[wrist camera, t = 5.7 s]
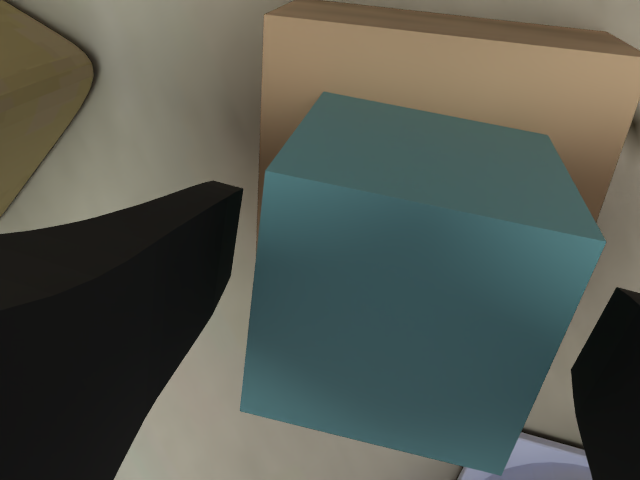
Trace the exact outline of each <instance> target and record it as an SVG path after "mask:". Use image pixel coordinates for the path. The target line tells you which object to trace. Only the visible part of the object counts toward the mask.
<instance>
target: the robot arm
mask: <svg viewBox="0 0 640 480" xmlns="http://www.w3.org/2000/svg"><path fill="white" fill-rule="evenodd" d="M242 194H243V188H239V187H235V186H231V185H228V184H224V183H220V182H216V181H209V182H205V183H202V184H198V185H195V186H192V187H189V188H186V189H183V190H181V191H178V192H175V193H172V194H169V195H166V196H163V197H160V198H157V199H155V200H152V201H149V202H146V203H143V204H140V205H136V206H133V207H130V208H126V209H123V210H119V211H116V212H112V213H109V214H105V215H102V216H99V217H95V218H91V219H87V220H83V221H78V222H74V223H69V224H64V225H59V226H54V227H48V228H43V229H37V230H31V231H23V232H15V233H6V234H0V480H114V478H115V476H116V474H117V472H118V470H119V468H120V466H121V464H122V462H123V460H124V458H125V456H126V454H127V452H128V450H129V448H130V446H131V444H132V442H133V440H134V439H135V437H136V435H137V433H138V431H139V429H140V427H141V425H142V423H143V421H144V419H145V417H146V416H147V414H148V413H149V411H150V409H151V408H152V406H153V404H154V403H155V401H156V399H157V398H158V396H159V395H160V393H161V392H162V390H163V389H164V387H165V386H166V384H167V383H168V381H169V380H170V378H171V377H172V375H173V374H174V372H175V371H176V369H177V368H178V366H179V365H180V363H181V362H182V360H183V359H184V357H185V356H186V354H187V353H188V351H189V350H190V348H191V347H192V345H193V344H194V342H195V341H196V339H197V338H198V336H199V335H200V333H201V332H202V330H203V329H204V327H205V325H206V324H207V322H208V321H209V319H210V318H211V316H212V315H213V312H214V310H215V308H216V306H217V304H218V302H219V300H220V298H221V296H222V294H223V292H224V289H225V287H226V285H227V283H228V281H229V279H230V276H231V270H232V263H233V256H234V249H235V242H236V235H237V228H238V222H239V215H240V208H241V201H242ZM571 375H572V387H573V398H574V406H575V414H576V419H577V423H578V427H579V431H580V435H581V439H582V443H583V446H584V450H583V449H579V448H576V447H572V446H568V445H565V444H561V443H558V442H554V441H551V440H547V439H544V438H540V437H537V436H533V435H529V434H526V433H522V432H521V433H520V435H519V438H518V440H517V442H516V444H515V447H514V449H513V451H512V453H511V455H510V458H509V460H508V462H507V464H506V467H505V469H504V471H503V473H502V476H499V475H495V474H491V473H487V472H483V471H479V470H475V469H471V468H467V467H463V469H462V471H461V473H460V475H459V477H458V479H457V480H640V293H637V292H633V291H629V290H626V289H622V288H618V287H616V289H615V291H614V293H613V295H612V296H611V298H610V300H609V302H608V304H607V306H606V307H605V309H604V311H603V313H602V315H601V316H600V318H599V320H598V322H597V324H596V325H595V327H594V329H593V331H592V333H591V334H590V336H589V338H588V340H587V342H586V344H585V345H584V347H583V349H582V351H581V353H580V354H579V356H578V358H577V360H576V362H575V363H574V365H573V367H572V369H571Z"/></svg>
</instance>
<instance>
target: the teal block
mask: <svg viewBox="0 0 640 480" xmlns="http://www.w3.org/2000/svg"><path fill="white" fill-rule="evenodd" d="M605 244H606V240H605V238H604V237H603V235H602V233H601V231H600V229H599V227H598V226H597V224H596V222H595V220H594V218H593V217H592V215H591V213H590V211H589V209H588V207H587V206H586V204H585V202H584V200H583V198H582V196H581V195H580V193H579V191H578V189H577V187H576V185H575V184H574V182H573V180H572V178H571V176H570V174H569V173H568V171H567V169H566V167H565V165H564V164H563V162H562V160H561V158H560V156H559V154H558V153H557V151H556V149H555V147H554V145H553V143H552V142H551V140H550V138H549V136H548V135H545V134H540V133H535V132H530V131H525V130H519V129H514V128H509V127H504V126H499V125H494V124H489V123H483V122H478V121H473V120H468V119H463V118H458V117H453V116H447V115H442V114H437V113H432V112H427V111H422V110H417V109H411V108H406V107H401V106H396V105H391V104H386V103H381V102H375V101H370V100H365V99H360V98H355V97H350V96H345V95H339V94H334V93H329V92H324V91H323V93H322V94H321V96H320V97H319V98H318V100H317V101H316V102H315V104H314V105H313V106H312V108H311V109H310V111H309V112H308V113H307V115H306V116H305V117H304V119H303V120H302V121H301V123H300V124H299V125H298V127H297V128H296V130H295V131H294V132H293V134H292V135H291V136H290V138H289V139H288V140H287V142H286V143H285V144H284V146H283V147H282V149H281V150H280V151H279V153H278V154H277V155H276V157H275V158H274V159H273V161H272V162H271V163H270V165H269V166H268V168H267V169H266V170H265V178H264V187H263V197H262V206H261V216H260V225H259V235H258V244H257V253H256V263H255V272H254V282H253V291H252V301H251V310H250V319H249V329H248V338H247V348H246V357H245V367H244V376H243V386H242V395H241V404H240V411H241V412H245V413H250V414H254V415H258V416H262V417H266V418H270V419H274V420H278V421H282V422H286V423H290V424H294V425H298V426H302V427H306V428H310V429H314V430H318V431H322V432H326V433H330V434H334V435H338V436H342V437H346V438H350V439H354V440H358V441H362V442H366V443H370V444H374V445H379V446H383V447H387V448H391V449H395V450H399V451H403V452H407V453H411V454H415V455H419V456H423V457H427V458H431V459H435V460H439V461H443V462H447V463H451V464H455V465H459V466H463V467H467V468H471V469H475V470H479V471H483V472H487V473H491V474H495V475H499V476H502V473H503V471H504V469H505V467H506V464H507V462H508V460H509V458H510V455H511V453H512V451H513V449H514V447H515V444H516V442H517V440H518V438H519V435H520V433H521V431H522V429H523V427H524V424H525V422H526V420H527V418H528V415H529V413H530V411H531V409H532V406H533V404H534V402H535V400H536V398H537V395H538V393H539V391H540V389H541V386H542V384H543V382H544V380H545V377H546V375H547V373H548V371H549V369H550V366H551V364H552V362H553V360H554V357H555V355H556V353H557V351H558V348H559V346H560V344H561V342H562V340H563V337H564V335H565V333H566V331H567V328H568V326H569V324H570V322H571V320H572V317H573V315H574V313H575V311H576V308H577V306H578V304H579V302H580V299H581V297H582V295H583V293H584V291H585V288H586V286H587V284H588V282H589V279H590V277H591V275H592V273H593V270H594V268H595V266H596V264H597V262H598V259H599V257H600V255H601V253H602V250H603V248H604V246H605Z"/></svg>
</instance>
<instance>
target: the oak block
mask: <svg viewBox="0 0 640 480" xmlns="http://www.w3.org/2000/svg"><path fill="white" fill-rule="evenodd" d="M323 91H324V92H329V93H334V94H339V95H345V96H350V97H355V98H360V99H365V100H370V101H375V102H381V103H386V104H391V105H396V106H401V107H406V108H411V109H417V110H422V111H427V112H432V113H437V114H442V115H447V116H453V117H458V118H463V119H468V120H473V121H478V122H483V123H489V124H494V125H499V126H504V127H509V128H514V129H519V130H525V131H530V132H535V133H540V134H545V135H548V136H549V138H550V140H551V142H552V143H553V145H554V147H555V149H556V151H557V153H558V154H559V156H560V158H561V160H562V162H563V164H564V165H565V167H566V169H567V171H568V173H569V174H570V176H571V178H572V180H573V182H574V184H575V185H576V187H577V189H578V191H579V193H580V195H581V196H582V198H583V200H584V202H585V204H586V206H587V207H588V209H589V211H590V213H591V215H592V217H593V218H594V220H595V222H597V219H598V216H599V213H600V210H601V207H602V204H603V202H604V199H605V196H606V193H607V190H608V187H609V185H610V182H611V179H612V176H613V173H614V170H615V167H616V165H617V162H618V159H619V156H620V153H621V150H622V148H623V145H624V142H625V139H626V136H627V133H628V130H629V128H630V125H631V122H632V119H633V116H634V113H635V110H636V108H637V105H638V102H639V99H640V51H639V50H638V49H636V48H634V47H632V46H631V45H629V44H627V43H625V42H624V41H622V40H620V39H618V38H616V37H615V36H613V35H611V34H609V33H608V32H604V31H595V30H586V29H577V28H567V27H558V26H549V25H540V24H531V23H522V22H513V21H504V20H494V19H485V18H476V17H467V16H458V15H449V14H440V13H431V12H422V11H412V10H403V9H394V8H385V7H376V6H367V5H358V4H349V3H339V2H330V1H321V0H295V1H292V2H290V3H288V4H286V5H284V6H281V7H279V8H277V9H275V10H273V11H270V12H268V13H266V14H264V30H263V61H262V91H261V121H260V151H259V181H258V212H257V242H256V253H257V244H258V235H259V225H260V216H261V206H262V197H263V187H264V178H265V170H266V169H267V168H268V166H269V165H270V163H271V162H272V161H273V159H274V158H275V157H276V155H277V154H278V153H279V151H280V150H281V149H282V147H283V146H284V144H285V143H286V142H287V140H288V139H289V138H290V136H291V135H292V134H293V132H294V131H295V130H296V128H297V127H298V125H299V124H300V123H301V121H302V120H303V119H304V117H305V116H306V115H307V113H308V112H309V111H310V109H311V108H312V106H313V105H314V104H315V102H316V101H317V100H318V98H319V97H320V96H321V94H322V93H323Z"/></svg>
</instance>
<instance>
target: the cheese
mask: <svg viewBox="0 0 640 480" xmlns="http://www.w3.org/2000/svg"><path fill="white" fill-rule="evenodd" d="M93 77H94V74H93V67H92V63H91V61H90V60H89V58H88V57H87V55H86V54H85V53H84V52H83V51H82V50H80V49H79V48H78V47H77V46H76V45H74V44H73V43H71V42H70V41H68V40H67V39H65V38H64V37H62V36H61V35H59V34H57V33H56V32H54V31H53V30H51V29H49V28H48V27H46V26H44V25H43V24H41V23H40V22H38V21H36V20H35V19H33V18H31V17H30V16H28V15H26V14H25V13H23V12H21V11H20V10H18V9H17V8H15V7H13V6H12V5H10V4H8V3H7V2H5V1H3V0H0V217H1V216H2V214H3V213H4V212H5V210H6V209H7V208H8V206H9V205H10V204H11V202H12V201H13V200H14V198H15V197H16V196H17V194H18V193H19V191H20V190H21V189H22V187H23V186H24V185H25V183H26V182H27V181H28V179H29V178H30V177H31V175H32V174H33V172H34V171H35V170H36V168H37V167H38V166H39V164H40V163H41V162H42V160H43V159H44V158H45V156H46V155H47V154H48V152H49V151H50V149H51V148H52V147H53V145H54V144H55V143H56V141H57V140H58V139H59V137H60V136H61V134H62V133H63V132H64V130H65V129H66V128H67V126H68V125H69V124H70V122H71V121H72V119H73V118H74V116H75V115H76V113H77V112H78V110H79V109H80V107H81V105H82V104H83V102H84V100H85V98H86V96H87V94H88V92H89V90H90V87H91V84H92V80H93Z"/></svg>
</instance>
